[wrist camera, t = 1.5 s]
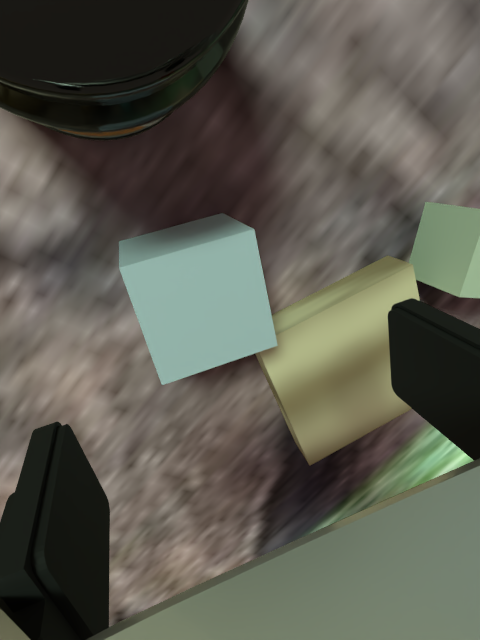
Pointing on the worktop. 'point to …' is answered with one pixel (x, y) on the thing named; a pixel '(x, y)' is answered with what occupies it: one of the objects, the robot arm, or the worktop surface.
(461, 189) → the worktop surface
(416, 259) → the sage block
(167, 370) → the blue cube
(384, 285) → the maple slab
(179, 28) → the supplement container
